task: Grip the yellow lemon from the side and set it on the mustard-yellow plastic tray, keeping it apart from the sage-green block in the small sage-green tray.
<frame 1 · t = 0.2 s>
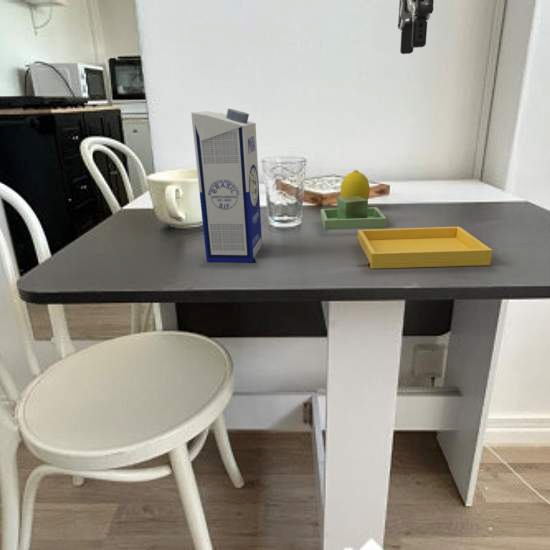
hand: (412, 50, 77), 28 cm above the table, tool pointing down, fingers open, 8 cm apart
lemon: (354, 212, 86), on the table
green tray: (351, 225, 77), on the table
milk carton: (235, 255, 64), on the table
green block: (351, 221, 76), point 1 cm above the table, touching green tray
yellow tray: (417, 253, 62), on the table
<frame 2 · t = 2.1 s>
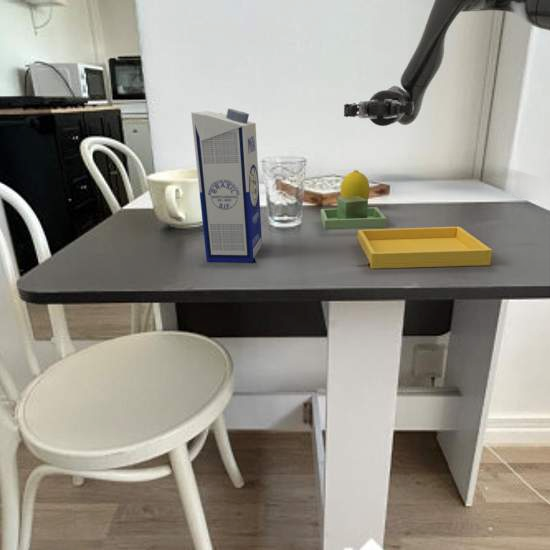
hand: (371, 110, 88), 18 cm above the table, tool horizontal, fingers open, 8 cm apart
nothing on the table moved.
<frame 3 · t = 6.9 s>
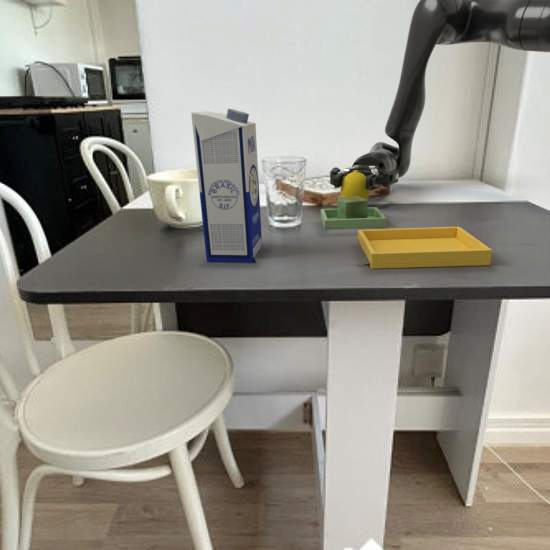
hand: (351, 182, 82), 6 cm above the table, tool horizontal, fingers closed on lemon, 5 cm apart
lemon: (354, 212, 86), on the table, touching gripper
everything else where it was.
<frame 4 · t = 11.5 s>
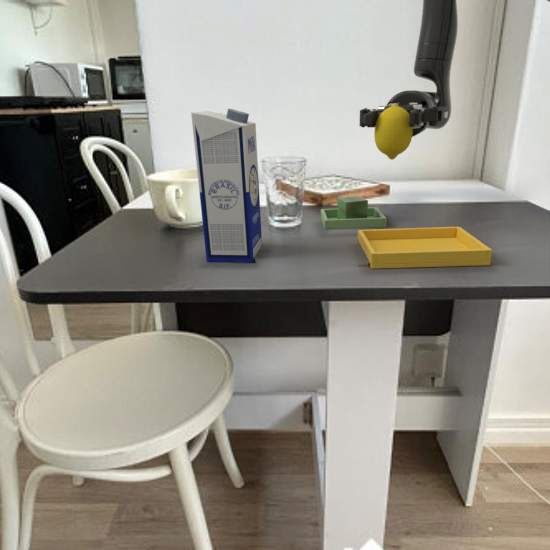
hand: (390, 119, 63), 18 cm above the table, tool horizontal, fingers closed on lemon, 5 cm apart
lemon: (391, 161, 67), point 11 cm above the table, touching gripper
everything else where it was.
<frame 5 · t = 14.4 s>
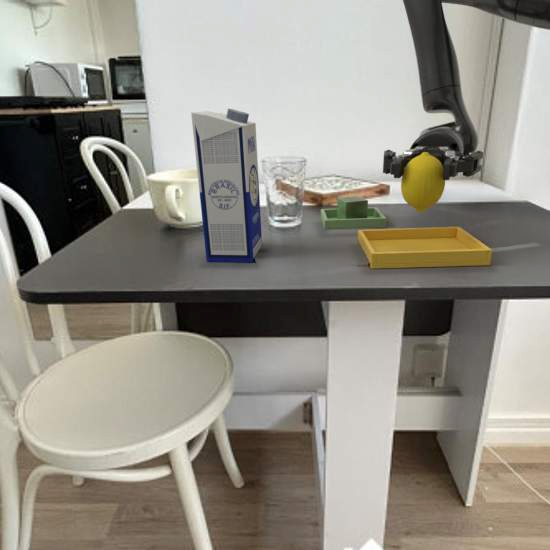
hand: (421, 170, 55), 12 cm above the table, tool horizontal, fingers closed on lemon, 5 cm apart
lemon: (420, 213, 60), point 6 cm above the table, touching gripper
everything else where it was.
when the fingers open (7 cm above the table, at t = 16.4 s): lemon stays where it is, resting on yellow tray.
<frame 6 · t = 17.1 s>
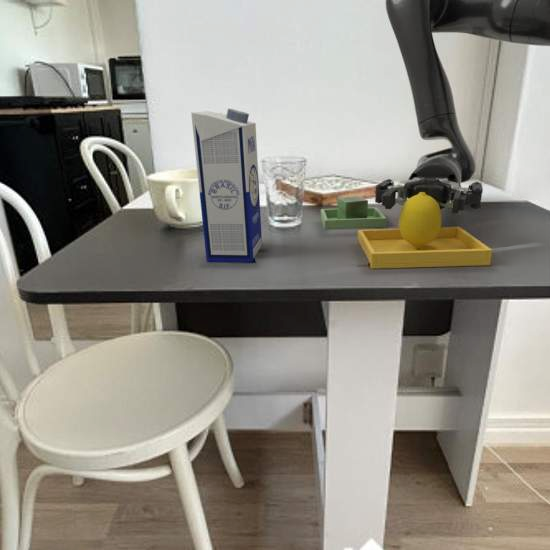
hand: (420, 203, 57), 7 cm above the table, tool horizontal, fingers open, 8 cm apart
lemon: (417, 250, 61), resting on yellow tray
everything else where it was.
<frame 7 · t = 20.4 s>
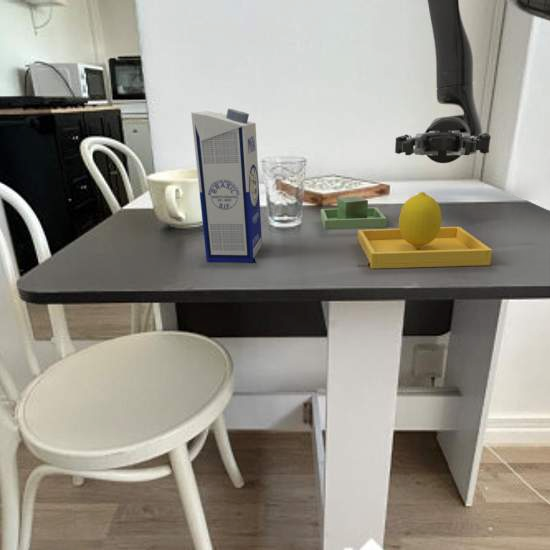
hand: (437, 148, 66), 13 cm above the table, tool horizontal, fingers open, 8 cm apart
nothing on the table moved.
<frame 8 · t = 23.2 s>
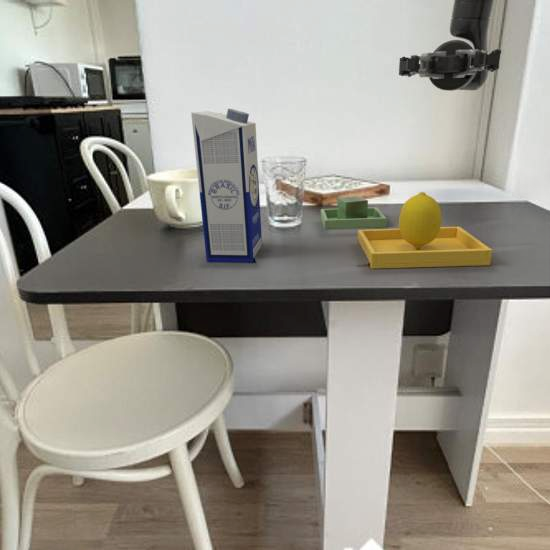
hand: (444, 61, 62), 25 cm above the table, tool horizontal, fingers open, 8 cm apart
nothing on the table moved.
at the end: lemon inside the target area in the yellow tray (0.1 cm from its centre), point 0.4 cm above the yellow tray's base; the gripper is holding nothing; green block inside the target area in the green tray (0.0 cm from its centre), point 0.6 cm above the green tray's base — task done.
